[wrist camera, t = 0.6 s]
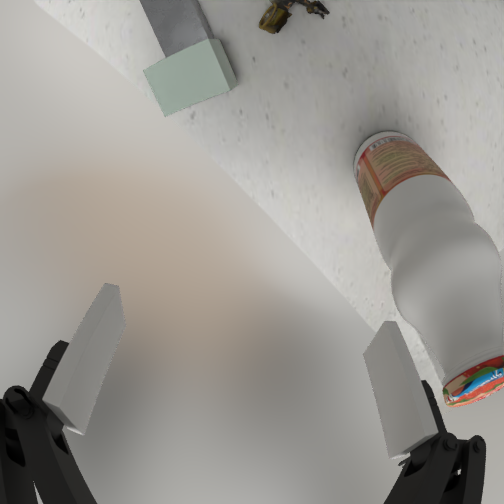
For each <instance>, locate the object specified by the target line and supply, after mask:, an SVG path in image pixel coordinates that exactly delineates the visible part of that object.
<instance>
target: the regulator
mask: <svg viewBox="0 0 504 504" xmlns="http://www.w3.org/2000/svg"><path fill="white" fill-rule="evenodd" d="M270 1H271V2H272V3H273V5H272V6H270V7H269V8H268V9H267V11H266V12H265V13H264V15H263V17H262V18H261V20H260V23H259V28H260V29H263V30H266V31H268V32H269V33H271V34H275V33H276V32H277V33H279V31H280V29H281V28H282V27H283V26H284V25H285V24H286V22H287V19H288V18H289V17H290V16H291V15H292V14H291V13H289V12H288V9H289V8H290V7H291V6H292V5H293V4H294V3H295V2H297V3H300V4H302V5H304V6H306V7H307V11H308V13H310V14H311V13H315V14H320V15H321V16H322V18H323V19H324V14H327V15H328V14H329V13H330V12H329V11H328V10H327V9H326V8H325V7H324V5H323V4H322V3H321V2H320V1H314V2H312V3H311V2H310V1H308V0H270ZM267 13H269V16H268V17H267V18H266V17H265V15H266V14H267ZM323 13H324V14H323Z"/></svg>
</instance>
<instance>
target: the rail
mask: <svg viewBox="0 0 504 504" xmlns="http://www.w3.org/2000/svg"><path fill="white" fill-rule="evenodd" d="M140 2H141V4H142V7H143V9H144V11H145V13H146V15H147V17H148V20H149V22H150V24H151V26H152V28H153V30H154V33H155V35H156V37H157V39H158V41H159V43H160V46H161V48H162V50H163V52H164V54H165V56H166V58H167V57H169V56H171V55H173V54H175V53H177V52H179V51H181V50H183V49H186V48H188V47H190V46H192V45H194V44H197V43H199V42H201V41H204V40H206V39H215V38H214V36H213V34H212V32H211V29H210V27H209V25H208V23H207V21H206V18H205V16H204V14H203V12H202V10H201V8H200V5H199V3H198V1H197V0H140Z"/></svg>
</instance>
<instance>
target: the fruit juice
mask: <svg viewBox="0 0 504 504" xmlns="http://www.w3.org/2000/svg"><path fill="white" fill-rule="evenodd" d="M354 174H355V179H356V182H357V184H358V187H359V190H360V193H361V195H362V198H363V201H364V204H365V207H366V210H367V213H368V216H369V219H370V222H371V225H372V228H373V231H374V235H375V239H376V242H377V245H378V248H379V250H380V253H381V255H382V257H383V259H384V261H385V263H386V265H387V266H388V267H389V269H390V270H391V290H392V295H393V298H394V301H395V305H396V307H397V309H398V311H399V313H400V315H401V316H402V318H403V319H404V320H405V321H406V322H407V323H408V324H409V325H411V326H412V327H413V328H414V329H415V330H416V331H417V332H418V333H419V334H420V335H421V337H422V338H423V339H424V341H425V342H426V344H427V345H428V346H429V348H430V349H431V351H432V353H433V354H434V356H435V357H436V359H437V361H438V362H439V364H440V365H441V367H442V369H443V370H444V373H445V377H444V379H443V382H442V385H443V396H444V400H445V403H446V405H447V406H449V407H458V406H463V405H467V404H470V403H473V402H476V401H479V400H481V399H483V398H485V397H487V396H489V395H491V394H493V393H495V392H496V391H498V390H500V389H501V388H502V387H504V336H503V335H504V334H503V314H502V300H501V299H502V298H501V276H502V265H501V259H500V255H499V252H498V250H497V247H496V246H495V244H494V242H493V240H492V238H491V237H490V235H489V234H488V233H487V232H486V231H485V230H484V229H483V228H482V227H481V226H479V225H478V224H477V223H475V220H474V216H473V213H472V210H471V208H470V206H469V204H468V203H467V201H466V200H465V198H464V197H463V195H462V194H461V192H460V191H459V190H458V188H457V187H456V186H455V185H454V184H453V183H452V182H451V180H450V179H449V178H448V177H447V176H446V175H445V173H444V172H443V171H442V170H441V169H440V168H439V167H438V165H437V164H436V163H435V162H434V161H433V160H432V159H431V158H430V157H429V156H428V155H427V154H426V153H425V152H424V151H423V149H422V148H421V147H420V146H419V145H418V144H417V143H416V142H415V141H413V140H412V139H411V138H409V137H407V136H406V135H404V134H401V133H398V132H390V131H388V132H381V133H378V134H375V135H373V136H371V137H370V138H368V139H367V140H366V141H365V142H364V143H363V144H362V145H361V146H360V148H359V150H358V152H357V154H356V157H355V161H354Z"/></svg>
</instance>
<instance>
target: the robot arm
mask: <svg viewBox="0 0 504 504" xmlns="http://www.w3.org/2000/svg"><path fill="white" fill-rule="evenodd" d="M125 327H126V323H125V317H124V312H123V307H122V301H121V296H120V290H119V286H117V285H113V284H108V283H105V284H104V285H103V287H102V288H101V290H100V292H99V293H98V295H97V297H96V298H95V300H94V301H93V303H92V305H91V306H90V308H89V310H88V311H87V313H86V315H85V317H84V318H83V320H82V322H81V324H80V325H79V327H78V329H77V331H76V333H75V334H74V336H73V338H72V340H71V342H70V343H67V342H64V341H61V340H60V341H59V342H57V343H56V344H55V345H54V346H53V347H52V348H51V350H50V352H49V353H48V355H47V359H45V361H44V363H43V366H42V367H41V368H40V370H39V373H38V374H37V376H36V378H35V381H34V382H33V385H32V387H31V389H30V391H29V392H28V391H27V390H26V389H25V388H24V387H21V386H12V387H10V388H8V390H7V391H6V392H5V394H4V397H3V399H0V504H38V501H37V497H36V492H35V487H34V483H35V486H36V488H37V490H38V493H39V495H40V498H41V500H42V502H43V504H97V503H96V501H95V499H94V497H93V495H92V494H91V492H90V490H89V488H88V486H87V484H86V482H85V480H84V478H83V476H82V474H81V472H80V470H79V468H78V466H77V464H76V462H75V459H74V457H73V455H72V453H71V450H70V448H69V445H68V443H67V440H66V438H65V435H64V433H63V431H62V428H63V426H64V425H65V426H66V427H67V428H68V429H69V430H72V431H74V432H77V433H79V434H81V435H84V434H85V431H86V428H87V425H88V422H89V419H90V416H91V413H92V410H93V407H94V404H95V402H96V399H97V396H98V393H99V391H100V388H101V385H102V383H103V380H104V377H105V375H106V372H107V370H108V367H109V365H110V362H111V360H112V357H113V355H114V353H115V350H116V348H117V345H118V343H119V340H120V338H121V336H122V333H123V331H124V329H125ZM363 356H364V359H365V363H366V366H367V369H368V373H369V377H370V380H371V384H372V388H373V391H374V395H375V399H376V403H377V407H378V411H379V414H380V419H381V423H382V427H383V432H384V436H385V441H386V445H387V450H388V455H389V459H394V458H399V457H402V456H404V455H406V454H407V453H409V452H410V455H411V456H410V457H408V458H407V459H405V460H403V461H401V462H400V463H399V466H400V465H402V464H404V463H405V465H404V466H403V467H402V468H403V469H402V471H401V473H400V475H399V477H398V479H397V481H396V483H395V485H394V486H393V489H392V490H391V492H390V494H389V496H388V497H387V499H386V500H385V502H384V504H481V500H482V492H483V485H484V475H485V461H486V443H485V441H484V439H483V438H482V437H481V436H479V435H475V436H473V437H472V438H471V439H469V440H460V439H457V438H456V436H454V435H453V434H452V433H448V432H447V430H446V428H445V425H444V422H443V419H442V416H441V413H440V410H439V407H438V406H437V402H436V399H435V398H434V397H435V396H434V393H433V391H432V388H431V387H430V385H429V384H428V383H427V381H426V380H420V377H419V375H418V372H417V370H416V367H415V365H414V362H413V360H412V357H411V355H410V352H409V350H408V348H407V345H406V343H405V340H404V338H403V336H402V334H401V331H400V329H399V327H398V325H397V322H396V321H384V323H383V324H382V326H381V327H380V329H379V331H378V332H377V334H376V335H375V337H374V339H373V340H372V342H371V343H370V345H369V346H368V348H367V350H366V351H365V352H364V354H363ZM460 469H461V474H459V475H458V470H460ZM33 481H34V482H33Z"/></svg>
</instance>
